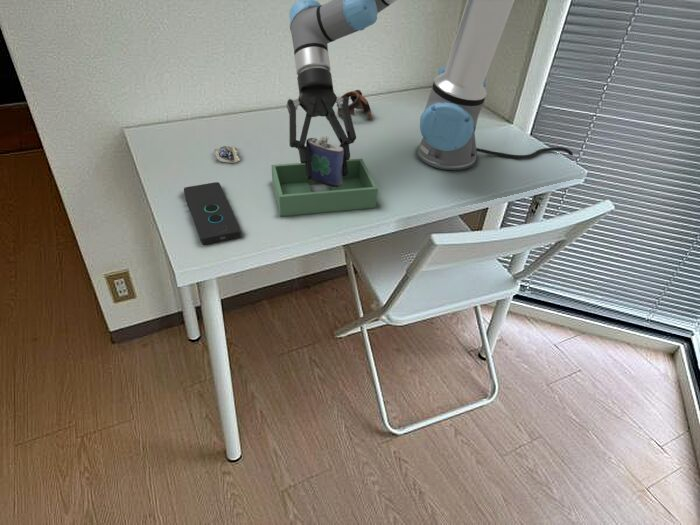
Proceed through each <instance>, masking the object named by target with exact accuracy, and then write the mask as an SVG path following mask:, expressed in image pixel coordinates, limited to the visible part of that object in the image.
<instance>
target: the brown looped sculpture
mask: <svg viewBox="0 0 700 525" xmlns="http://www.w3.org/2000/svg"><path fill="white" fill-rule="evenodd" d="M345 96H347V97H348V98H349V99H350V100H351V102H352V103H350V104H348V108H349V111H350V115H351V116H355V109H356V110H362V113H364V114H365V113H366V114H367V118H368V120H369V121H370V120H372V110H371V105H370V104H369V101H368V100H367V98H366V97H365V96H363V92H362V91H361V89H356V90H351V91H348V92H345V93H343V95H341V96H339V97H340V98H344V97H345ZM336 107H337V115H338V116H342V114H341V108H339V107H338V104H337V103H336Z"/></svg>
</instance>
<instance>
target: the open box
mask: <svg viewBox="0 0 700 525" xmlns="http://www.w3.org/2000/svg"><path fill="white" fill-rule="evenodd" d="M346 161H347V168H348V174H347V175H346V176H342V185H341V186H340V187H331V186H329V189H330V190H322V191H312V188H311V185H314V184H315V185H316V184H319V183H318V182H315V181H313V180H311V179H307V177H306V164H305V163H304V164H301V162H293V163H281V164H271V185H272V189H273V192H274V196H275V201H276V205H277V209H278V213H279V216H280V217H287V216H298V215H309V214H320V213H331V212H343V211H351V210H354V211H355V210H364V209H365V210H366V209H373V208H377V202H378V191H379V188H378V186H377V184H376V182H375V180H374V178H373V177H372V176H373V175H371V173H370V171H369V169H368V167H367V165H366V164H365V161H364V159H363V158H352V159H351V158H350V159H349V160H346Z"/></svg>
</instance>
